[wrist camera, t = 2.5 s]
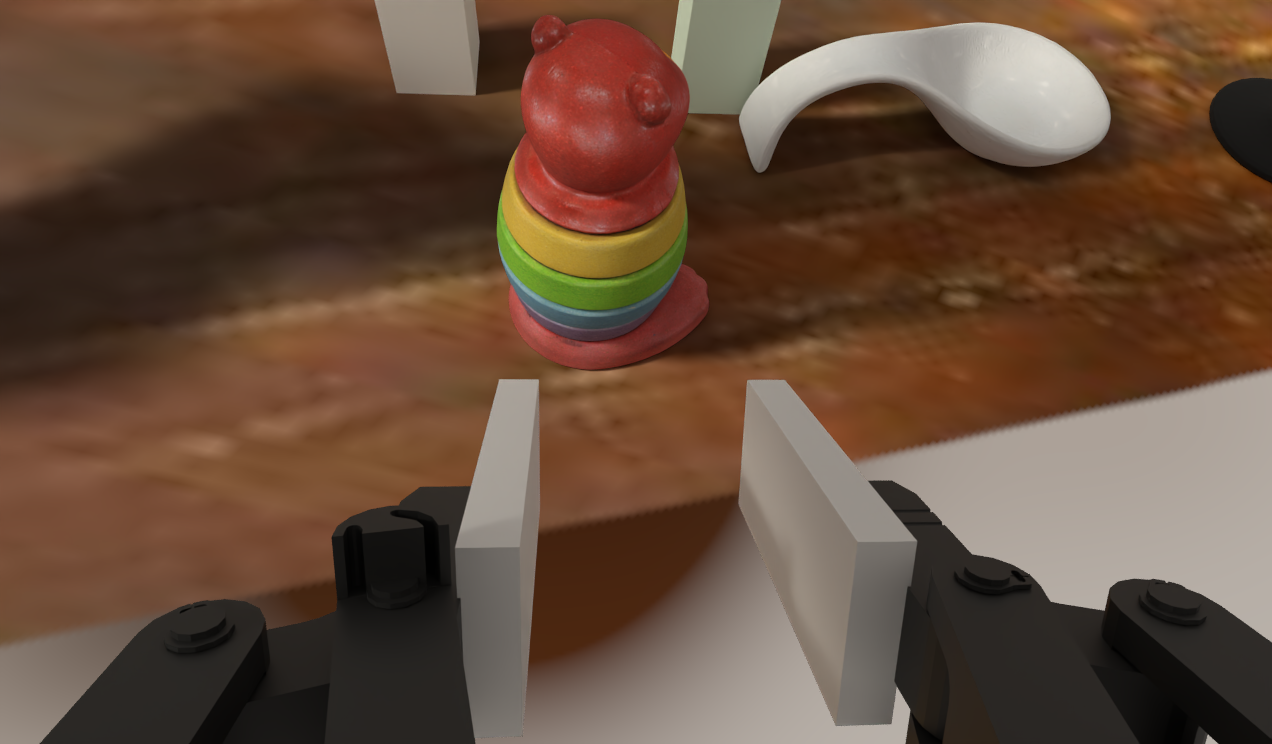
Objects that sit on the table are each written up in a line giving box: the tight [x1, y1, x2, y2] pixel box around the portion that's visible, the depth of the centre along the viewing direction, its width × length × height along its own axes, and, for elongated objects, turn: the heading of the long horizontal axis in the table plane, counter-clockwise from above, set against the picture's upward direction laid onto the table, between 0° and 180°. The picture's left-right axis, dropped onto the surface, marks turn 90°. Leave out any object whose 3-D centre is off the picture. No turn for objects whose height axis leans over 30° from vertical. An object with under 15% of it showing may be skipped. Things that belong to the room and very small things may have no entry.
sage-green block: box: [671, 0, 781, 114], centre depth 51 cm, size 5×5×10 cm
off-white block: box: [375, 0, 480, 95], centre depth 50 cm, size 5×5×10 cm
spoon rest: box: [739, 23, 1111, 172], centre depth 52 cm, size 24×12×7 cm, turn 102°
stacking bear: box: [497, 15, 709, 370], centre depth 39 cm, size 11×10×18 cm
